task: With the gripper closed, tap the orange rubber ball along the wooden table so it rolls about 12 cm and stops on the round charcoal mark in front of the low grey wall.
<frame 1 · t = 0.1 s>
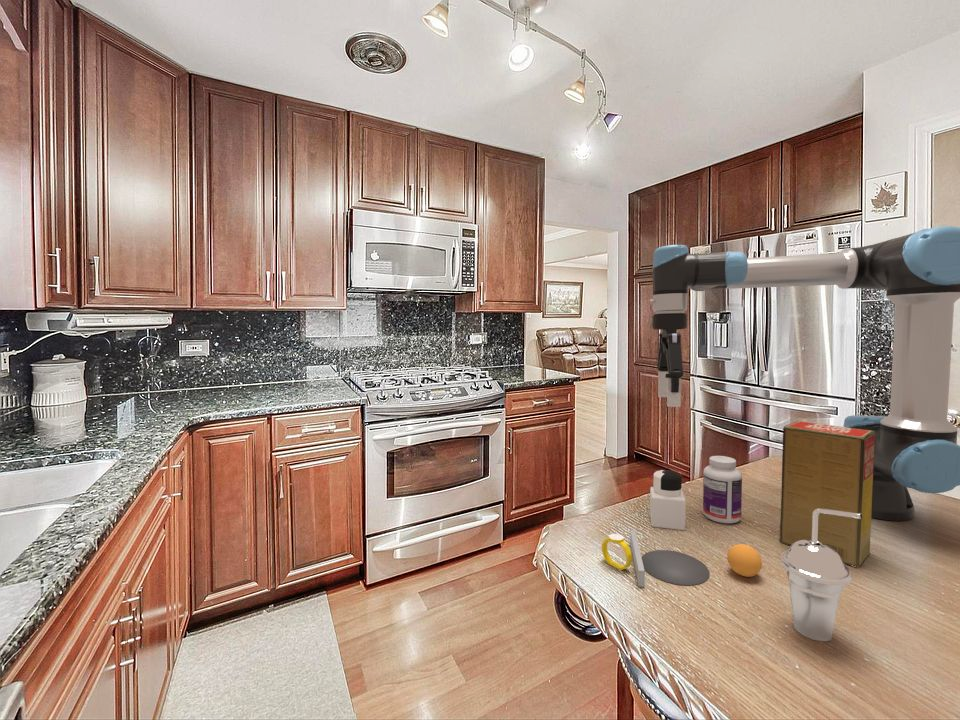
hand: (668, 401, 104), 28 cm above the table, tool pointing down, fingers open, 13 cm apart
food packaging: (823, 548, 89), on the table
medicine bottle: (666, 523, 102), on the table
pill bottle: (721, 518, 104), on the table
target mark: (674, 567, 83), on the table
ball: (744, 560, 80), on the table
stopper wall: (636, 563, 85), on the table
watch: (616, 567, 84), on the table
cup with straw: (813, 633, 65), on the table
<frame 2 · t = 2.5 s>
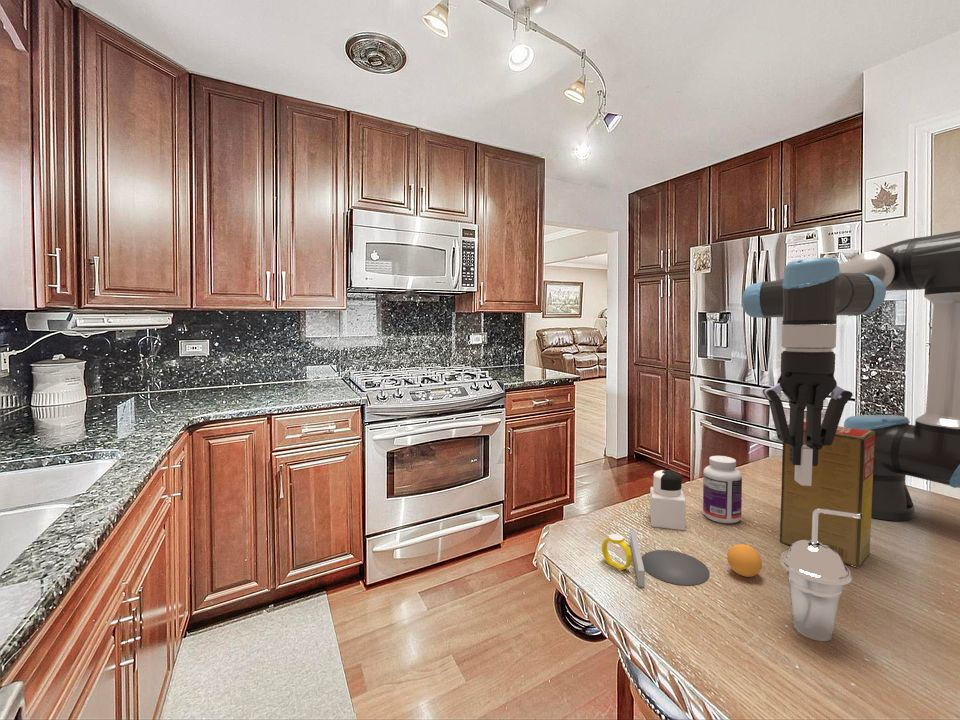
hand: (802, 482, 77), 18 cm above the table, tool pointing down, fingers closed
nothing on the table moved.
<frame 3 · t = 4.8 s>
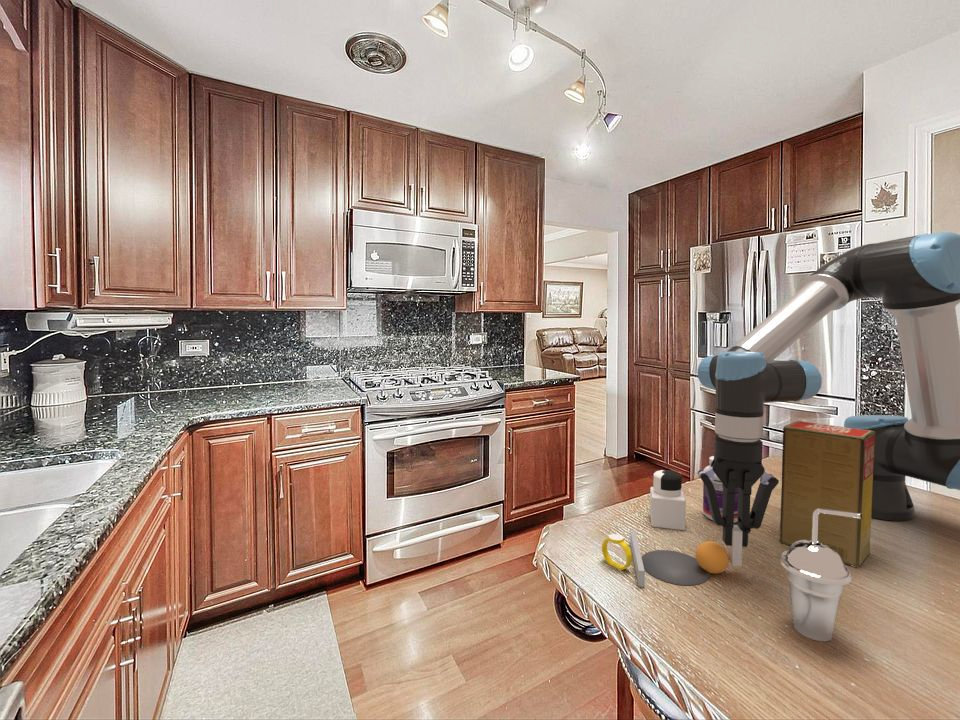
hand: (734, 561, 80), 2 cm above the table, tool pointing down, fingers closed
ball: (712, 557, 81), on the table
everything else where it was.
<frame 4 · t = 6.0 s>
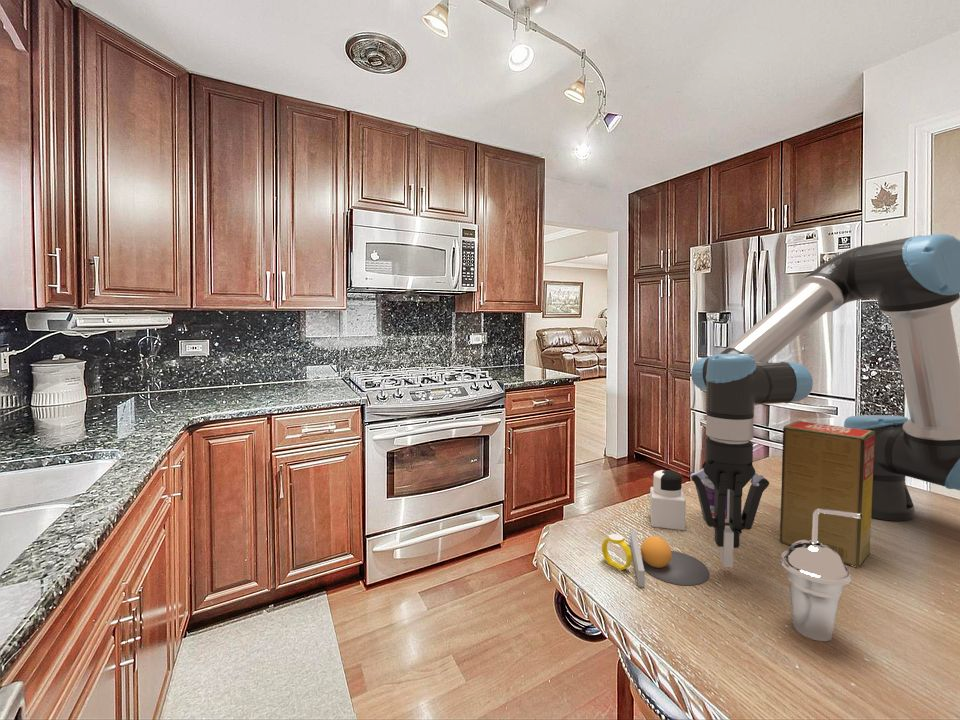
hand: (726, 562, 81), 2 cm above the table, tool pointing down, fingers closed
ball: (656, 552, 83), on the table
everything else where it was.
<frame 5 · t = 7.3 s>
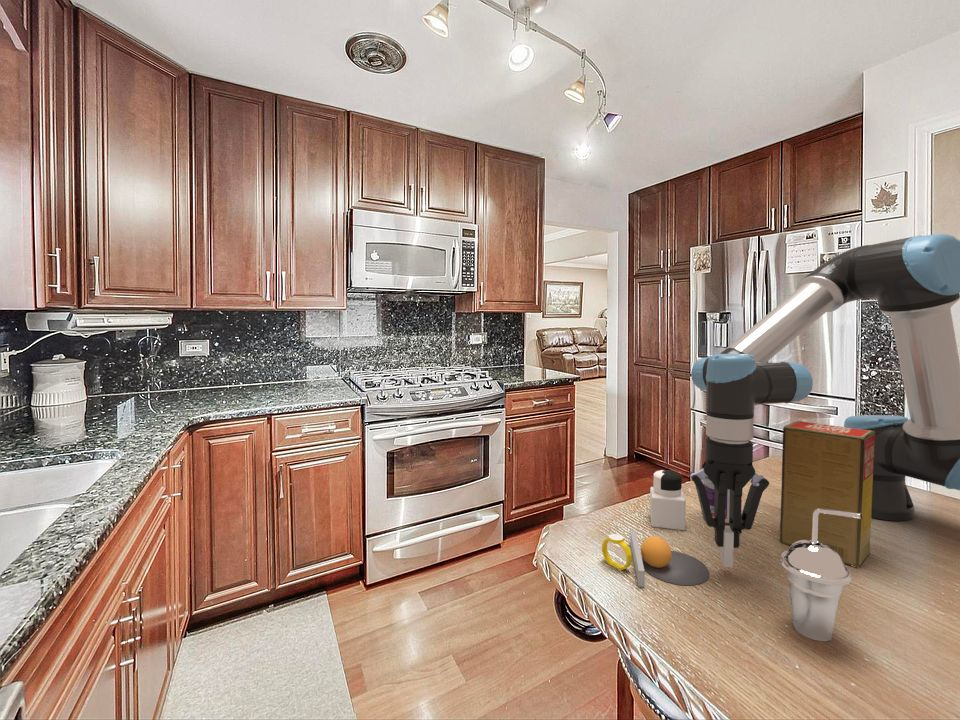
hand: (726, 562, 81), 2 cm above the table, tool pointing down, fingers closed
nothing on the table moved.
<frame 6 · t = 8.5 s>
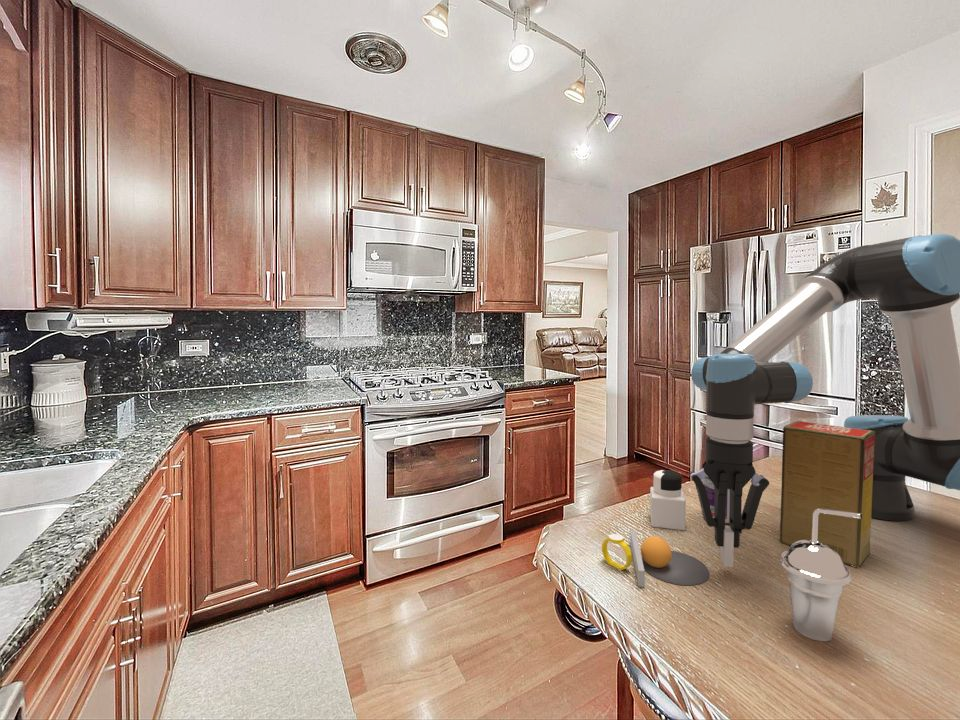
hand: (726, 562, 81), 2 cm above the table, tool pointing down, fingers closed
nothing on the table moved.
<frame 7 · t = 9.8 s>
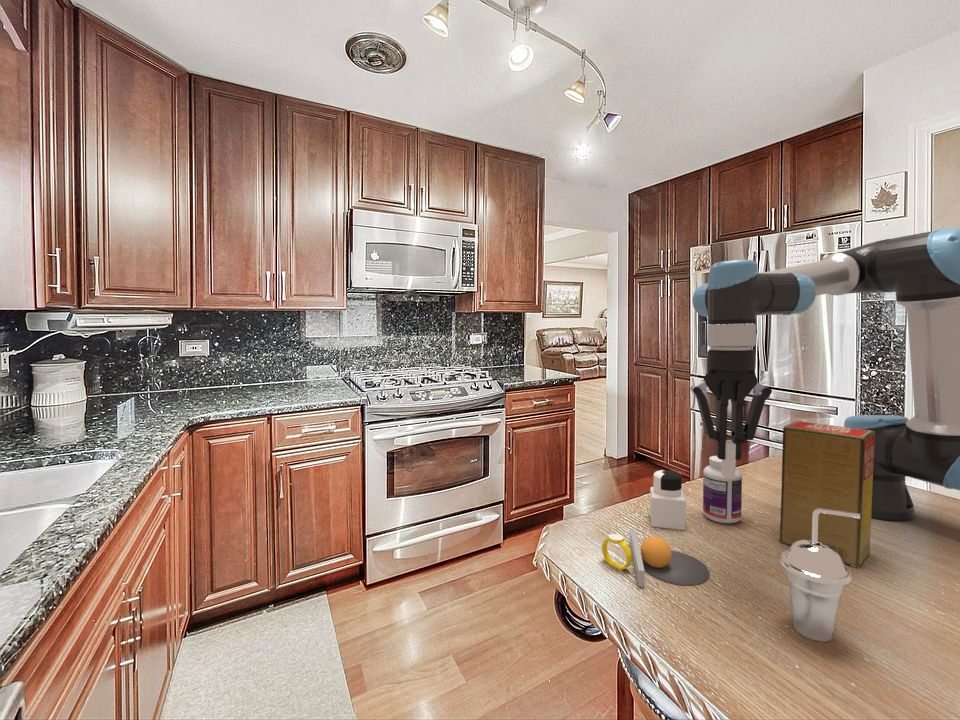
hand: (728, 476, 79), 18 cm above the table, tool pointing down, fingers closed
nothing on the table moved.
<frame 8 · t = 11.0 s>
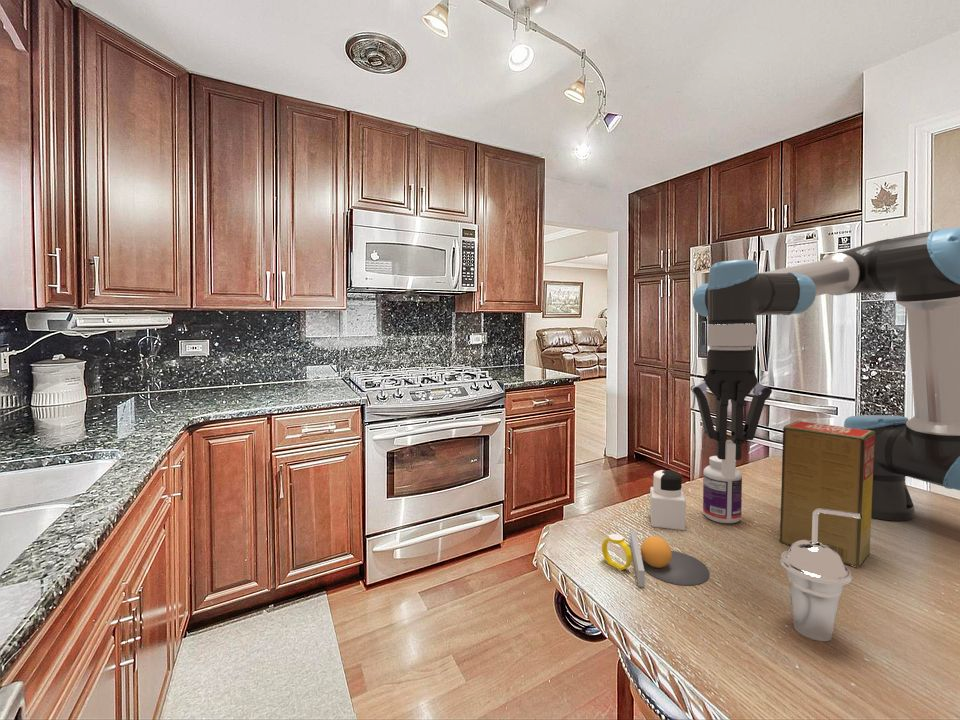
hand: (728, 476, 79), 18 cm above the table, tool pointing down, fingers closed
nothing on the table moved.
at the end: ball 3.3 cm from the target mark (horizontally); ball at rest at the end (0.0 cm/s); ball moved 15.3 cm from its start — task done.
